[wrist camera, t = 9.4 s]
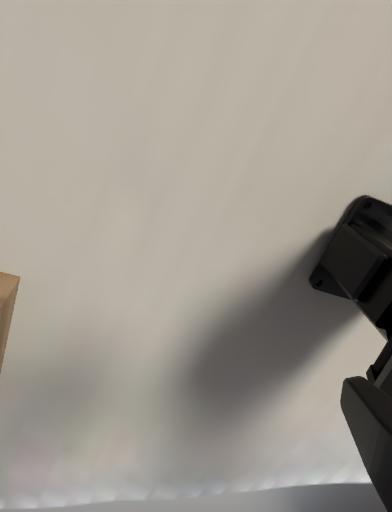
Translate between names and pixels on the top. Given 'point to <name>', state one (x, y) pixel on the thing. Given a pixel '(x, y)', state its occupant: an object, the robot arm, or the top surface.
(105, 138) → the top surface
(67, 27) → the top surface
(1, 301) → the walnut block
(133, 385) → the top surface
